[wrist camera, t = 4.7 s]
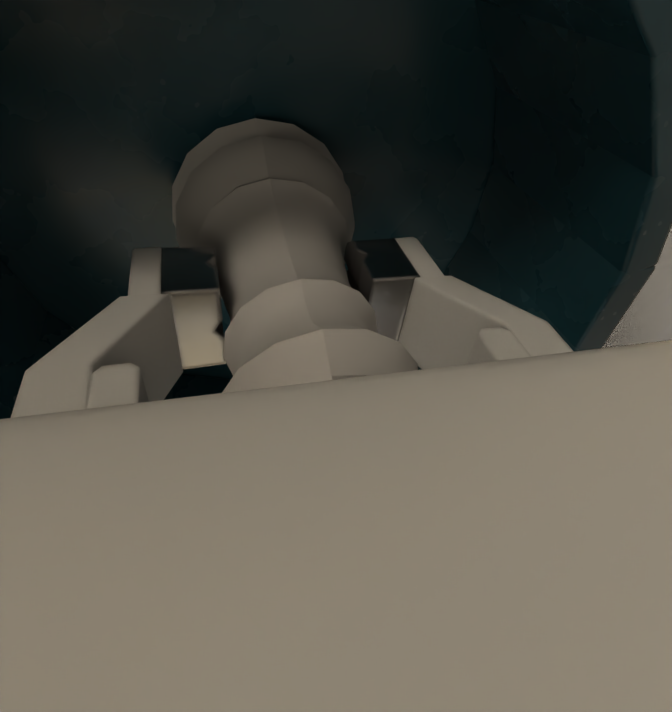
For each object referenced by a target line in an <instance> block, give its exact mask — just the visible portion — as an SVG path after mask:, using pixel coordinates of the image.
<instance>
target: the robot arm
mask: <svg viewBox="0 0 672 712" xmlns="http://www.w3.org/2000/svg"><path fill="white" fill-rule="evenodd" d="M344 261H345V263H346V265H347V267H348V270H347V271H346V273H347V277H348V281H349V284H350V286H351V288H353V289H355V290H357V291H359V292H360V293H361V294H362V295H363V296H364V298H365V299H366V300H367V301H368V303H369V304H370V305H371V306H372V308H373V309H374V310H375V316H376V324H377V331H378V334H381V335H383V336H386V337H388V338H391V339H393V340H396V341H398V342H401V344H402V345H403V346H404V347H405V349H406V350H407V351H408V352H409V354H410V355H411V356H412V357H413V359H414V360H415V361H416V362H417V364H418V366H419V367H420V368H421V369H422V370H413V371H405V372H396V373H388V374H379V375H371V376H362V377H354V378H345V379H337V380H328V381H320V382H311V383H303V384H294V385H286V386H277V387H269V388H260V389H252V390H243V391H235V392H227V393H218V394H210V395H201V396H193V397H184V398H176V399H167V400H164V399H165V397H166V396H167V394H168V393H169V392H170V390H171V389H172V387H173V386H174V384H175V383H176V381H177V380H178V378H179V377H180V376H181V374H182V373H183V369H191V368H198V367H206V366H214V365H222V364H226V361H225V359H224V357H223V351H224V332H223V323H222V320H223V317H222V307H221V297H220V287H219V278H218V270H217V265H216V255H215V248H214V246H196V247H162V248H161V247H149V248H135V249H134V250H133V251H132V258H131V268H130V278H129V287H128V296H121V297H119V298H117V299H116V300H115V301H113V302H112V303H111V304H110V305H108V306H107V307H106V308H105V309H103V310H102V311H101V312H99V313H98V314H97V315H96V316H94V317H93V318H92V319H91V320H89V321H88V322H87V323H85V324H84V325H83V326H82V327H80V328H79V329H78V330H77V331H75V332H74V333H73V334H71V335H70V336H69V337H68V338H66V339H65V340H64V341H63V342H61V343H60V344H59V345H57V346H56V347H55V348H54V349H52V350H51V351H50V352H49V353H47V354H46V355H45V356H43V357H42V358H41V359H40V360H38V361H37V362H36V363H35V364H33V365H32V366H31V367H30V368H28V369H27V370H26V371H25V373H24V376H23V379H22V382H21V386H20V389H19V392H18V395H17V399H16V402H15V405H14V408H13V411H12V415H11V418H6V419H0V712H672V340H668V341H660V342H651V343H643V344H634V345H625V346H617V347H608V348H600V349H591V350H583V351H573V350H572V349H571V348H570V346H569V345H568V344H567V343H566V342H565V341H564V340H563V339H562V337H561V336H560V335H559V334H558V333H557V332H556V331H555V330H554V328H553V327H552V326H551V325H550V324H549V323H548V322H547V321H545V320H543V319H541V318H539V317H537V316H535V315H533V314H531V313H529V312H527V311H524V310H522V309H520V308H518V307H516V306H514V305H512V304H510V303H508V302H506V301H503V300H501V299H499V298H497V297H495V296H493V295H491V294H489V293H487V292H485V291H482V290H480V289H478V288H476V287H474V286H472V285H470V284H468V283H466V282H464V281H461V280H459V279H457V278H455V277H453V276H444V274H443V273H442V272H441V270H440V269H439V268H438V266H437V265H436V264H435V262H434V261H433V260H432V258H431V257H430V255H429V254H428V253H427V251H426V250H425V249H424V247H423V246H422V245H421V243H420V242H419V241H418V239H417V238H414V237H404V238H389V239H374V240H359V241H349V242H347V245H346V248H345V254H344Z"/></svg>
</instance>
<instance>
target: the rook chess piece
mask: <svg viewBox="0 0 672 712" xmlns="http://www.w3.org/2000/svg"><path fill="white" fill-rule="evenodd" d="M172 218H173V223H174V225H175V227H176V240H177V242H178V244H179V246H180V247H196V246H214V248H215V255H216V265H217V270H218V278H219V287H220V297H221V298H222V299H223V301H224V304H225V306H226V309H227V312H228V315H229V317H230V325H229V326H228V328H227V330H226V331H225V338H224V351H223V357H224V359H225V361H226V363H227V365H228V367H229V369H230V371H231V373H232V375H233V377H232V379H231V380H230V382H229V383H228V385H227V386H226V387H225V389H224V390H223V392H222V393H227V392H235V391H243V390H252V389H260V388H269V387H277V386H286V385H294V384H303V383H311V382H320V381H328V380H337V379H345V378H354V377H362V376H371V375H379V374H388V373H396V372H405V371H413V370H418V364H417V362H416V361H415V360H414V359H413V357H412V356H411V355H410V354H409V352H408V351H407V350H406V349H405V347H404V346H403V345H402V344H401V342H398V341H396V340H393V339H391V338H388V337H386V336H383V335H381V334H378V331H377V324H376V316H375V310H374V309H373V308H372V306H371V305H370V304H369V303H368V301H367V300H366V299H365V298H364V296H363V295H362V294H361V293H360V292H359V291H357V290H355V289H353V288H351V286H350V284H349V281H348V277H347V273H346V268H345V261H344V254H345V248H346V245H347V242H349V241H352V237H353V233H354V229H355V221H354V214H353V207H352V201H351V194H350V189H349V187H348V186H347V184H346V183H345V181H344V177H343V172H342V171H341V169H340V167H339V166H338V164H337V163H336V161H335V160H334V158H333V157H332V155H331V154H330V152H329V151H328V149H327V147H326V146H325V144H323V143H322V142H320V141H319V140H317V139H316V138H314V137H313V136H311V135H309V134H308V133H306V132H305V131H303V130H302V129H300V128H299V127H297V126H296V125H294V124H289V123H283V122H276V121H270V120H263V119H257V118H254V119H250V120H247V121H243V122H239V123H236V124H232V125H228V126H225V127H221V128H218V129H216V130H215V131H213V132H212V133H211V134H210V135H209V136H207V137H206V138H205V139H204V140H203V141H201V142H200V143H199V144H198V145H197V146H196V147H194V148H193V149H192V150H191V151H190V152H188V153H187V155H186V157H185V159H184V162H183V164H182V166H181V168H180V170H179V172H178V175H177V177H176V179H175V181H174V183H173V186H172Z"/></svg>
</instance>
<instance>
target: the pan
mask: <svg viewBox="0 0 672 712" xmlns="http://www.w3.org/2000/svg"><path fill="white" fill-rule="evenodd" d="M254 118H257V119H263V120H270V121H276V122H283V123H289V124H294V125H296V126H297V127H299V128H300V129H302V130H303V131H305V132H306V133H308V134H309V135H311V136H313V137H314V138H316V139H317V140H319V141H320V142H322V143H323V144H325V146H326V147H327V149H328V151H329V152H330V154H331V155H332V157H333V158H334V160H335V161H336V163H337V164H338V166H339V167H340V169H341V171H342V172H343V177H344V181H345V183H346V184H347V186H348V187H349V189H350V194H351V201H352V207H353V214H354V221H355V229H354V233H353V237H352V241H359V240H374V239H389V238H404V237H414V238H417V239H418V241H419V242H420V243H421V245H422V246H423V247H424V249H425V250H426V251H427V253H428V254H429V255H430V257H431V258H432V260H433V261H434V262H435V264H436V265H437V266H438V268H439V269H440V270H441V272H442V273H443V274H444V276H453V277H455V278H457V279H459V280H461V281H464V282H466V283H468V284H470V285H472V286H474V287H476V288H478V289H480V290H482V291H485V292H487V293H489V294H491V295H493V296H495V297H497V298H499V299H501V300H503V301H506V302H508V303H510V304H512V305H514V306H516V307H518V308H520V309H522V310H524V311H527V312H529V313H531V314H533V315H535V316H537V317H539V318H541V319H543V320H545V321H547V322H548V323H549V324H550V325H551V326H552V327H553V328H554V330H555V331H556V332H557V333H558V334H559V335H560V336H561V337H562V339H563V340H564V341H565V342H566V343H567V344H568V345H569V346H570V348H571V349H572V350H573V351H583V350H591V349H600V348H602V347H603V345H604V344H605V342H606V341H607V339H608V338H609V336H610V335H611V333H612V332H613V330H614V329H615V327H616V326H617V324H618V323H619V321H620V320H621V318H622V317H623V315H624V314H625V312H626V311H627V310H628V308H629V307H630V305H631V304H632V302H633V301H634V299H635V298H636V296H637V295H638V293H639V292H640V290H641V289H642V287H643V286H644V284H645V283H646V281H647V280H648V278H649V277H650V275H651V274H652V272H653V271H654V269H655V266H654V265H656V264H657V262H658V260H659V257H660V255H661V252H662V249H663V247H664V244H665V241H666V239H667V236H668V233H669V231H670V228H671V226H672V0H0V419H6V418H11V415H12V411H13V408H14V405H15V402H16V399H17V395H18V392H19V389H20V386H21V382H22V379H23V376H24V373H25V371H26V370H27V369H28V368H30V367H31V366H32V365H33V364H35V363H36V362H37V361H38V360H40V359H41V358H42V357H43V356H45V355H46V354H47V353H49V352H50V351H51V350H52V349H54V348H55V347H56V346H57V345H59V344H60V343H61V342H63V341H64V340H65V339H66V338H68V337H69V336H70V335H71V334H73V333H74V332H75V331H77V330H78V329H79V328H80V327H82V326H83V325H84V324H85V323H87V322H88V321H89V320H91V319H92V318H93V317H94V316H96V315H97V314H98V313H99V312H101V311H102V310H103V309H105V308H106V307H107V306H108V305H110V304H111V303H112V302H113V301H115V300H116V299H117V298H119V297H121V296H128V287H129V278H130V268H131V258H132V251H133V250H134V249H135V248H149V247H161V248H162V247H180V246H179V244H178V242H177V240H176V227H175V225H174V223H173V218H172V186H173V183H174V181H175V179H176V177H177V175H178V172H179V170H180V168H181V166H182V164H183V162H184V159H185V157H186V155H187V153H188V152H190V151H191V150H192V149H193V148H194V147H196V146H197V145H198V144H199V143H200V142H201V141H203V140H204V139H205V138H206V137H207V136H209V135H210V134H211V133H212V132H213V131H215V130H216V129H218V128H221V127H225V126H228V125H232V124H236V123H239V122H243V121H247V120H250V119H254ZM345 268H346V271H347V270H348V267H347V265H346V263H345ZM221 307H222V317H223V320H222V323H223V332H224V338H225V331H226V330H227V328H228V326H229V325H230V317H229V315H228V312H227V309H226V306H225V304H224V301H223V299H222V298H221ZM418 370H422V369H421V368H420V367H419V366H418ZM232 377H233V375H232V373H231V371H230V369H229V367H228V365H227V363H226V364H222V365H214V366H206V367H198V368H191V369H183V373H182V374H181V376H180V377H179V378H178V380H177V381H176V383H175V384H174V386H173V387H172V389H171V390H170V392H169V393H168V394H167V396H166V397H165V399H164V400H167V399H176V398H184V397H193V396H201V395H210V394H218V393H222V392H223V390H224V389H225V387H226V386H227V385H228V383H229V382H230V380H231V379H232Z"/></svg>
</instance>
